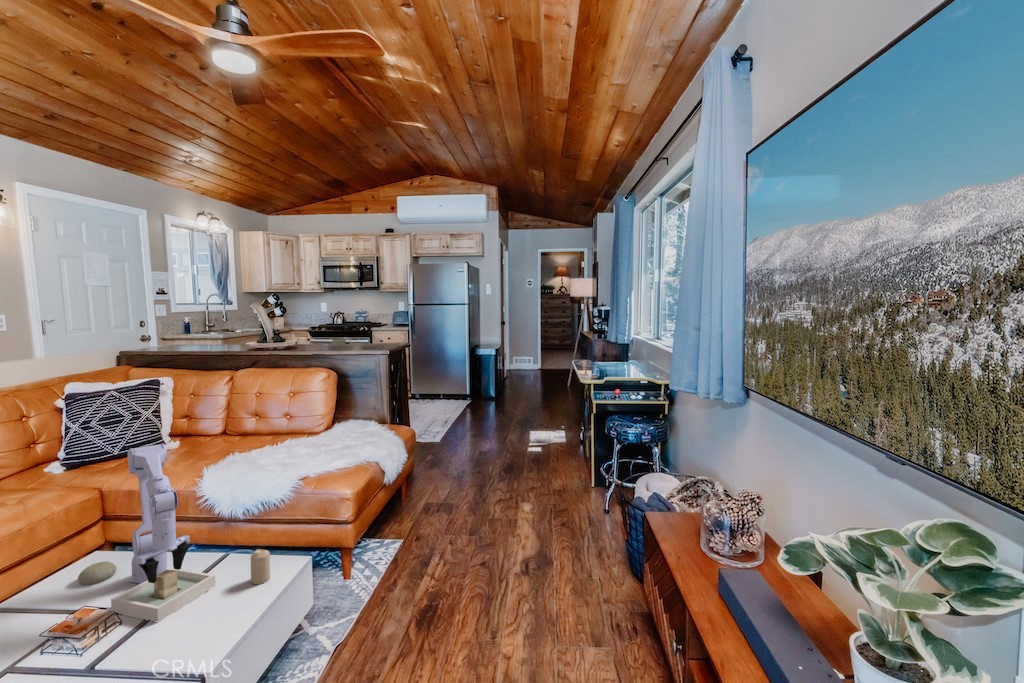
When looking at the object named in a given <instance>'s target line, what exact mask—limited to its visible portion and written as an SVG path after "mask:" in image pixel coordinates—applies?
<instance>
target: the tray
mask: <svg viewBox="0 0 1024 683" xmlns="http://www.w3.org/2000/svg"><path fill="white" fill-rule="evenodd" d="M167 570H172V571H177V592H176V593H174V594H173V595H171V596H169V597H168V598H166V599H164V600H160V599H155V598H154V583H149V582H148V580H147V581H145V582H143V583H141V584H139V583H138V585H136V586H133V587H132V588H130V589H128V590H126V591H124V592H123V593H120V594H118V595H117V596H114V597H113V598H111V599H110V603H111V604H110V606H111V607H110V609H111V610H112V611H115V612H117V613H119V614H118V615H120V614H122V615H121V616H126V617H129V616H131V618H134V617H136V618H135V619H139V618H141V619H140V620H143V619H146V620H145V621H148V620H152V621H157V622H158V621H160V620H161V619H163V618H165V617H166V616H168V615H169V616H171V615H172V614H171V613H173V612H174V613H176V612H177V611H176V610H178V609H179V610H181V609H182V608H184V607H185V606H184V605H186V604H187V605H189V604H191V603H192V602H193V601H192V600H194V599H195V598H197V597H199V596H200V595H202V594H203V593H205V592H206V591H208V590H209V589H210V588H212V587H214V586H215V587H216V574H214V573H213V574H211V573H207V572H200V571H194V570H190V569H184V568H183V569H182V568H181V569H179V570H177V569H174V567H173V566H172V567H170V568H169V569H168V568H167ZM208 592H209V591H208ZM205 594H206V593H205ZM203 595H204V594H203ZM203 595H202V596H203ZM200 597H201V596H200ZM200 597H199V598H200ZM197 599H198V598H197ZM195 600H196V599H195ZM195 600H194V601H195ZM191 601H192V602H191ZM188 603H189V604H188ZM187 605H186V606H187ZM183 606H184V607H183ZM181 607H182V608H181ZM180 608H181V609H180ZM179 610H178V611H179ZM175 611H176V612H175ZM174 613H173V614H174ZM170 614H171V615H170ZM169 616H168V617H169ZM166 618H167V617H166ZM166 618H165V619H166ZM163 620H164V619H163ZM152 621H151V622H152ZM161 621H162V620H161ZM161 621H160V622H161ZM157 622H156V623H157ZM158 623H159V622H158Z"/></svg>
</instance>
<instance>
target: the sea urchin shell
mask: <svg viewBox="0 0 1024 683" xmlns="http://www.w3.org/2000/svg"><path fill="white" fill-rule="evenodd" d="M116 571H117V566H116V565H115V563H113V562H112V561H100V562H97V563H93V564H90V565H88V566H87V567H86V568H84V569H83V570H81V572H80V573H79V575H78V577H77V581H78V583H79V584H81V585H94V584H100V583H101V582H103V581H105V580H108V579H110V578H111V577H112V576H114V575H115V574H116V573H117V572H116Z"/></svg>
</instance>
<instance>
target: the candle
mask: <svg viewBox="0 0 1024 683" xmlns="http://www.w3.org/2000/svg"><path fill="white" fill-rule="evenodd" d="M270 553H271V552H270V551H269V550H267V549H262V548H258V549H256V550H255V551H254V552H252V554H251V555H250V582H251V584H252V583H253V584H252V585H255V584H257V585H262V584H264V582H265V583H267V582H268V581H269V580H270V579H271V560H270V559H271V557H270V556H271V555H270ZM266 581H267V582H266ZM261 583H262V584H261Z"/></svg>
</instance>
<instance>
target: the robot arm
mask: <svg viewBox="0 0 1024 683" xmlns="http://www.w3.org/2000/svg"><path fill="white" fill-rule="evenodd" d="M167 458H168V451H167V445H166V444H164V443H160V444H153V445H147V446H141V447H135V448H131V447H130V448H129V449H128V450H127V463H128V471H129V474H130V475H136V477H137V479H138V486H139V497H140V509H141V521H142V523H141V525H140V526H138V527H137V528H136V529H134V531H133V533H132V542H131V544H132V552H133V556H132V559H131V579H129V581H128V582H130V583H133V584H138V585H139V584H141V583H143V582H145V581H147V580H148V582H149V583H155V582H156V579H157V575H158V574H160V573H162V572H163V571H165V570H168V558H167V557H168V556H167V555H168V554H167V553H168V552H171V554H172V567H173V568H174V569H177V570H179V569H182V565H183V561H184V559H185V557H186V555H187V554H186V553H187V552H188V550H189V548H190V544H189V543H190V541H191V540H190V535H187V534H183V535H182V536H179V537H177V530H176V529H177V528H176V527H177V526H176V524H177V522H176V519H177V516H176V510H177V509H178V506H179V498H178V493H177V491H176V490H175V489H174V488H172V486H171V481H170V478H169V476H167V475H165V474H163V468H164V466H165V465H166V461H167Z"/></svg>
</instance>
